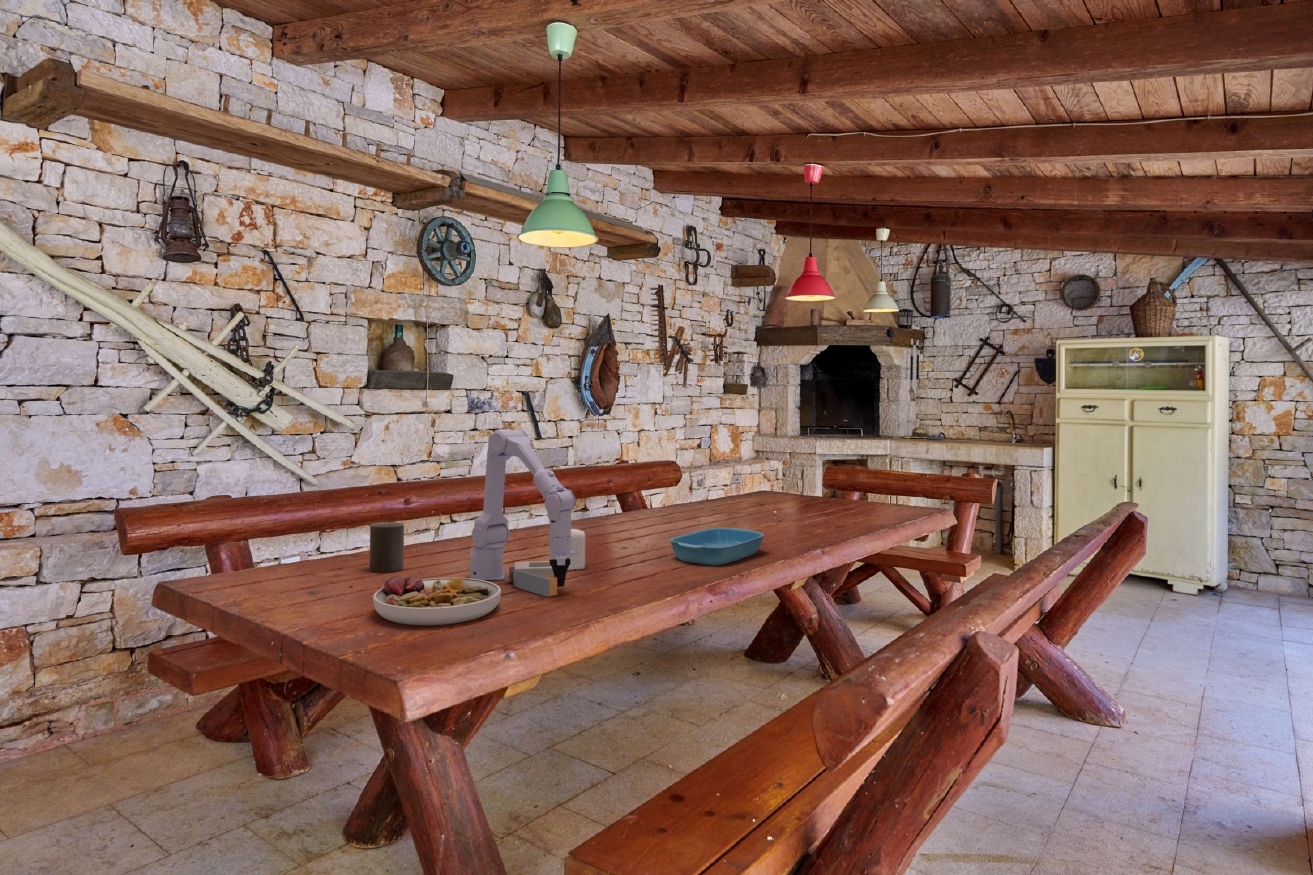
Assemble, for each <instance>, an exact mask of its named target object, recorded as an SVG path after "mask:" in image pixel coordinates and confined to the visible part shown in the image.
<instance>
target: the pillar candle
mask: <svg viewBox="0 0 1313 875" xmlns="http://www.w3.org/2000/svg"><path fill="white" fill-rule="evenodd" d="M369 530H370V531H369V570H371V571H370V572H371V573H381V574H382V573H383V574H387V573H388V574H390V573H395V572H396V571H397V572H399V571H400V570H401V571H403V570H404V567H405V566H404V563H405V562H404V560H405V559H404V557H405V554H404V551H405V550H404V549H405V547H404V544H405V543H404V542H405V538H404V537H405V524H404V523H403V522H394V521H393V522H392V521H391V522H390V521H389V522H388V520H387V519H386V521H385V522H375V523H371V524H370V528H369ZM402 569H403V570H402ZM389 572H390V573H389Z"/></svg>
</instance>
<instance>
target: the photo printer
mask: <svg viewBox="0 0 1313 875" xmlns="http://www.w3.org/2000/svg"><path fill="white" fill-rule="evenodd" d="M571 551H575V555H571V556H570V557H568V558H570V561H571V563H570V565H569V567H568V570H567V571H575V569H576V570H584V569H585V568H586V533H585V532H584V531H583V530H581V529H577V528H571ZM552 559H554V558H552Z"/></svg>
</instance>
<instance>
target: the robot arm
mask: <svg viewBox="0 0 1313 875" xmlns="http://www.w3.org/2000/svg"><path fill="white" fill-rule="evenodd" d="M511 457H517V458H519V459H520V461H521V462H522V463H523V465H524V466H525V467H526V468H527V469H528V471H529V472H530V473H531V474H532V475H533V478H532V480H533V482H532V483H533V485H534V486H535V487H536V488H537V490H538V492H540V494H541V495H542V496H543V498H544V500H545V501H544V507H545V510H546V513H547V518H548V520H549V521H548V522H549V527H548V528H549V529H548V530H549V531H548V532H549V533H548V534H549V537H548V538H549V539H548V540H549V542H548V543H549V544H548V550H549V551H548V553H547V554H548V557H550V558H552V559H549V560H548V561H549V563H550V565H551V567H552V570H553V573H554V577H557V588H560V587H561V588H562V587H564V586H565V582H566V578H567V573H568V571H569V570H568V567H569V565H570V563H571V561H570V558H568V557H570V556H571V555H575V551H571V529H572V511H573V510H574V509H575V507H576V503H577V501H576V500H577V499H576V496H575V495H574V491H572V490H570V489H567V488H566V487H564V486H563V485H562V484H561V482H560V481H559V480H558V478H557V477H556V475H555V472H554V471H553V470H551V469H548V468H545V467H544V465H543V464H542V462H541V461H540V458H539V457H538V456H537V454H536V452H535V450H534V448H533V446H532V439H531V437H530V436H529V434H528V433H527V432H526V431H525V430H524V429H516V430H494V431H493V432H492V433H491V434H490V435H489V436H488V441H487V453H486V466H485V468H486V469H485V477H484V478H485V479H484V480H485V481H484V492H483V493H484V494H483V510H482V511H483V512H482V514H480V515H479V516H478V517H476V519H475V520H474V525H473V527H472V528H473V529H472V531H471V541H472V543H473V545H474V546H475V547H471V548H470V554H469V555H470V557H469V558H470V559H469V560H470V563H469V565H470V566H469V575H470V576H469V577H470V578H469V579H478V580H484V581H497V580H499V581H500V580H502V581H504V580H505V577H506V572H505V571H504V547H506V543H507V542H508V540H509V539H510V528H509V519H508V518H507V517H506V516H505V515H504V514H503V508H504V498H505V497H504V496H505V495H504V494H505V483H506V482H505V481H506V480H505V479H506V468H507V467H506V466H507V461H508V460H509V459H510V458H511ZM553 558H554V559H553Z"/></svg>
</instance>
